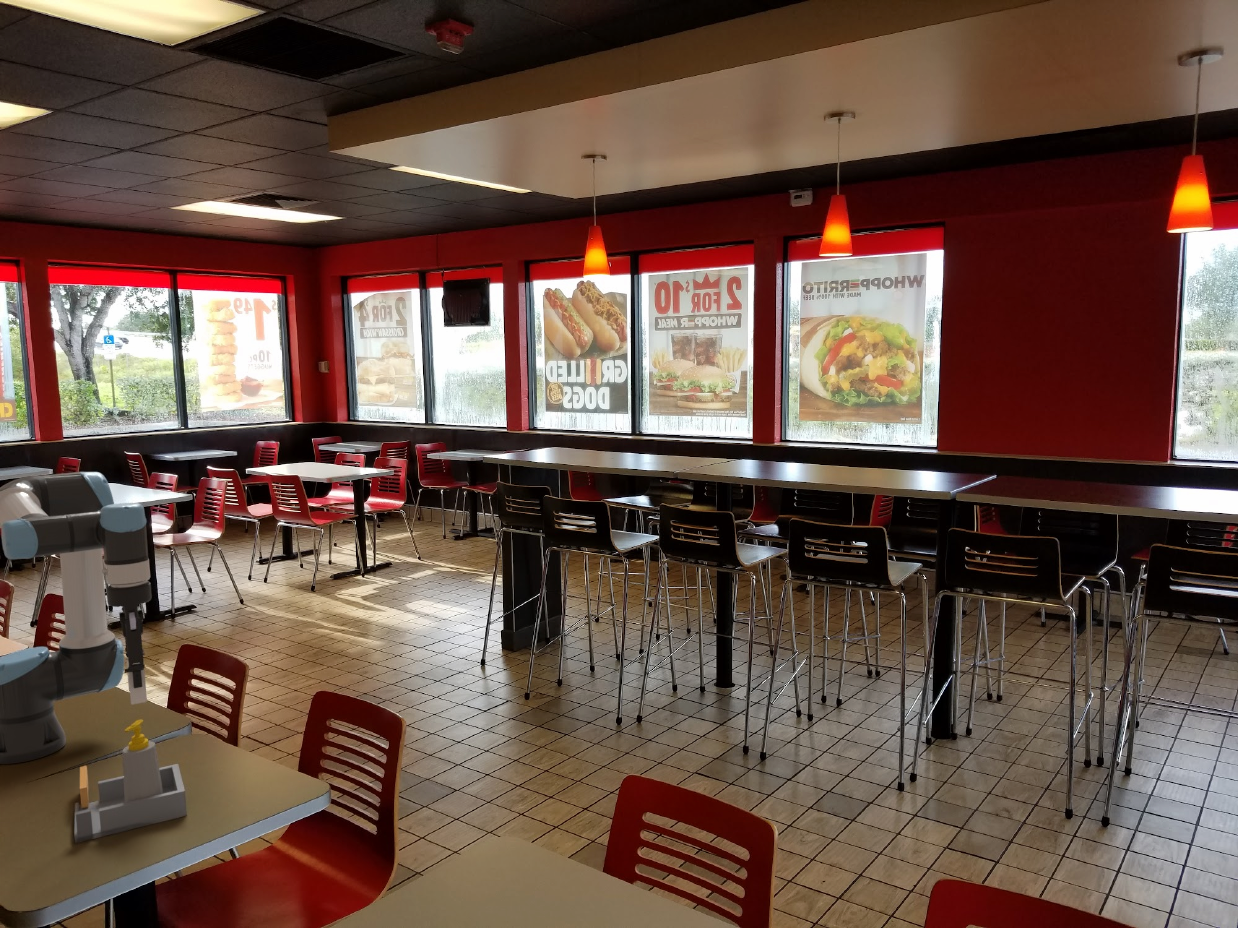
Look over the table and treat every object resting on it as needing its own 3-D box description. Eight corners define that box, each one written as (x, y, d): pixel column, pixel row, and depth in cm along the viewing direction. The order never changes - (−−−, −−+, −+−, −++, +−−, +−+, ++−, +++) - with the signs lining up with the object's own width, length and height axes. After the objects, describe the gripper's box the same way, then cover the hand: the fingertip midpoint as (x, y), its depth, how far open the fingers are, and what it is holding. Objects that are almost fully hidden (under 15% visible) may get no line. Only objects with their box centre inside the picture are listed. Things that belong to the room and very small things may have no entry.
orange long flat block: (81, 785, 184) (79, 766, 184) (88, 783, 185) (86, 765, 184) (81, 808, 174) (79, 788, 174) (88, 806, 175) (86, 787, 174)
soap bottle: (117, 819, 169) (108, 730, 168) (137, 802, 176) (128, 716, 174) (153, 818, 169) (144, 728, 168) (171, 800, 176) (163, 714, 174)
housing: (75, 810, 176) (73, 784, 175) (179, 786, 185) (177, 761, 185) (75, 843, 163) (72, 815, 162) (186, 815, 173) (184, 788, 172)
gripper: (105, 576, 178) (114, 684, 180) (107, 596, 160) (117, 716, 162) (146, 571, 182) (155, 677, 184) (153, 590, 164) (163, 707, 166)
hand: (137, 695), depth 173 cm, fingers open, 8 cm apart
